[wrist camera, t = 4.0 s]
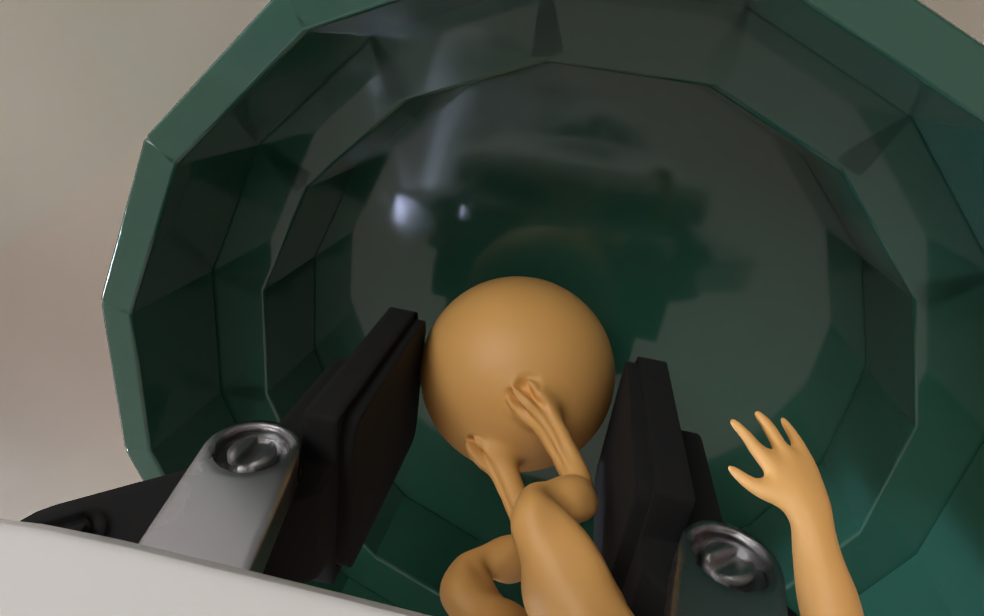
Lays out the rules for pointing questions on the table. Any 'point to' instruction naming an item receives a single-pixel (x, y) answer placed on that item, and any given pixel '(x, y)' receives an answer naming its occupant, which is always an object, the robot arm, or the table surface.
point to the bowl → (589, 249)
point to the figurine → (577, 456)
